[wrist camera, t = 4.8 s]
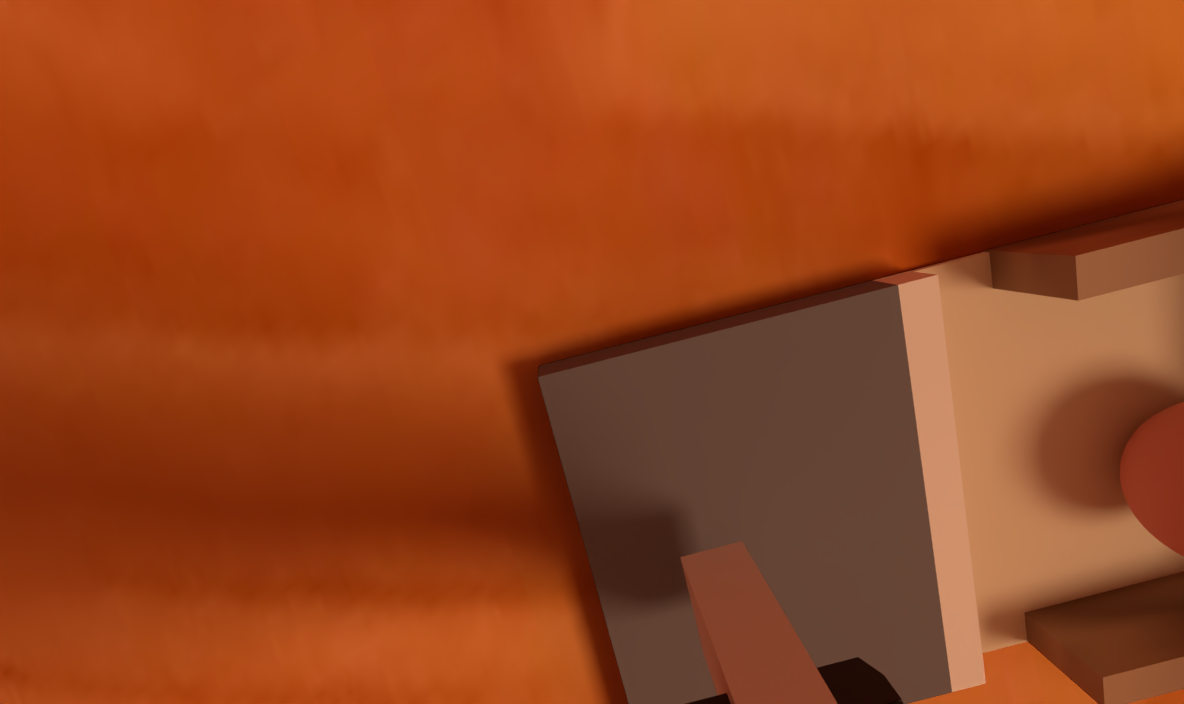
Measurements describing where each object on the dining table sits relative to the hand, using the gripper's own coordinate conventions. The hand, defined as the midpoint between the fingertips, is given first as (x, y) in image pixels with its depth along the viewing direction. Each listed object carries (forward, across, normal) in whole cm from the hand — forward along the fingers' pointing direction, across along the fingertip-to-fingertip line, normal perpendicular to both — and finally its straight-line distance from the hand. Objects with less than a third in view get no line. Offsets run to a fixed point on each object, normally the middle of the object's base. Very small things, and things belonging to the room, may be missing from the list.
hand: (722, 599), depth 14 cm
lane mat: (+3, +7, 0) cm, 8 cm away
